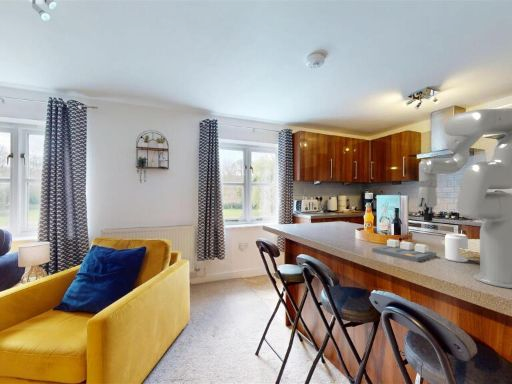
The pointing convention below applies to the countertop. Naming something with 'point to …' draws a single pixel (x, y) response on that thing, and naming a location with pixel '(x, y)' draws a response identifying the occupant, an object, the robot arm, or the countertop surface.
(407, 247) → the knob
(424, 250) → the knob
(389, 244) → the knob
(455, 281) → the countertop surface
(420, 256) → the switch panel
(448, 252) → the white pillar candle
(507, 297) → the countertop surface
